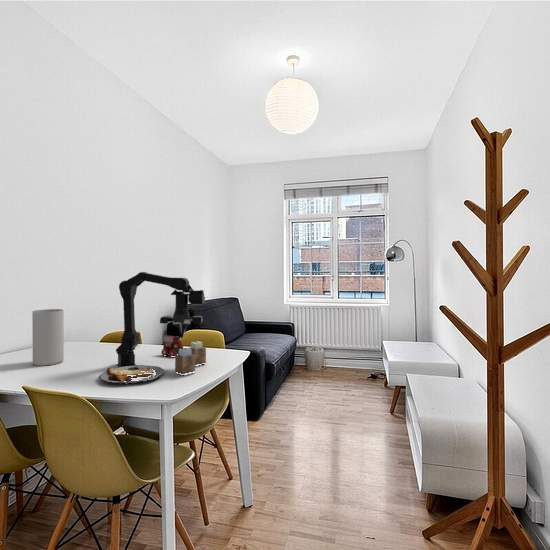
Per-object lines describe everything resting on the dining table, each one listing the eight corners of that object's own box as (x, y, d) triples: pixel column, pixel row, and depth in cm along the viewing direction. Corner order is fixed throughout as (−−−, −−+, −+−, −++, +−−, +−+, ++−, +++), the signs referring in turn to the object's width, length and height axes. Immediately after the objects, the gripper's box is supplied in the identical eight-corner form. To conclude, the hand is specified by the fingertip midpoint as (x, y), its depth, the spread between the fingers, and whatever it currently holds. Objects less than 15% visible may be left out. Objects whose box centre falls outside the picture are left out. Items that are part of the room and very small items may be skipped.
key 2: (183, 369, 153) (184, 350, 152) (178, 367, 155) (178, 348, 155) (191, 367, 155) (191, 348, 155) (186, 365, 158) (186, 347, 158)
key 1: (195, 360, 167) (196, 343, 167) (191, 359, 169) (191, 342, 169) (202, 359, 170) (202, 342, 170) (197, 357, 172) (197, 341, 172)
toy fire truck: (177, 358, 181) (177, 338, 181) (158, 356, 186) (158, 336, 186) (186, 355, 187) (186, 335, 187) (167, 353, 192) (168, 333, 192)
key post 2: (183, 376, 151) (183, 357, 151) (175, 373, 155) (175, 355, 155) (195, 373, 156) (195, 354, 155) (186, 370, 160) (187, 352, 159)
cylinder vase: (48, 367, 164) (48, 312, 163) (25, 365, 166) (25, 311, 166) (69, 360, 176) (69, 309, 176) (48, 358, 179) (47, 308, 178)
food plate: (93, 388, 135) (93, 379, 135) (104, 372, 157) (104, 364, 157) (163, 384, 142) (163, 375, 142) (164, 369, 164) (164, 361, 164)
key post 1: (195, 367, 165) (195, 349, 165) (187, 364, 169) (187, 347, 169) (205, 364, 170) (205, 347, 170) (198, 362, 174) (198, 345, 174)
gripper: (156, 306, 158) (156, 341, 159) (199, 306, 159) (199, 341, 160) (163, 304, 169) (163, 336, 170) (202, 304, 171) (202, 336, 171)
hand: (181, 338), depth 167 cm, fingers closed
